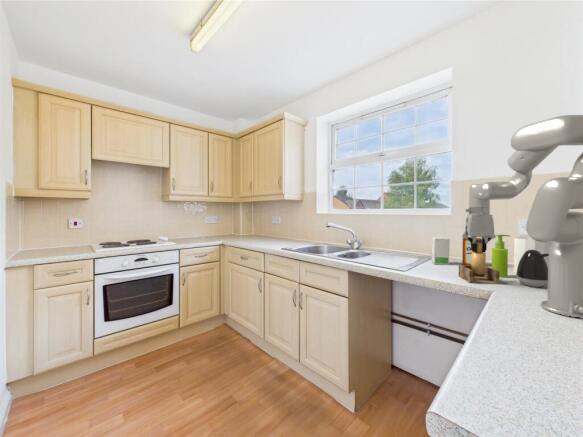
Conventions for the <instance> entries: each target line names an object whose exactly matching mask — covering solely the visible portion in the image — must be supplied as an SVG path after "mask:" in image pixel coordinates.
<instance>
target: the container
mask: <svg viewBox="0 0 583 437" xmlns="http://www.w3.org/2000/svg"><path fill="white" fill-rule="evenodd" d="M513 239H514V240H513V242H514V244H513V248H514V249H513V273H514V274H516V275H517V268H518V264H519V261H520V259H521V257H522V256H523V254H524V253H525V252H526V251H528V250H537V251H539V252H540V253H541V254H546V253H548V254H549V250H550V248H551V246H552V244H553V243H545V242H538V241H535V240H533V239H532V238H531V237H530V236H514V238H513ZM544 259H545V261H546V263H547V266H548V256H546V257H544Z"/></svg>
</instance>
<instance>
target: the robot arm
mask: <svg viewBox="0 0 583 437" xmlns="http://www.w3.org/2000/svg"><path fill="white" fill-rule="evenodd" d="M560 146H583V114H567V115H566V114H565V115H559V116H555V117H551V118H547V119H545V120H540V121H537V122H533V123H530V124H526V125H524V126H521V127H520V128H518V129H517V130H516V131H515V132H514V133H513V134H512V136H511V138H510V147H511V148H512V149H513V150H514V152H513V153H512V154H511V155H510V157H508V159H507V165H508V166H509V168H511V170H513V171H514V172H515V173H514V175H512V177H510V179H509V180H507V181H486V182H481V183H475V184H470V186H469V194H468V198H469V199H468V201H469V202H468V208H466V209H465V213H468V214H467V215H466V220H465V224H464V233H463V234H462V235H461V236H462V239H463V238H466V239H467V240H469V241H470V243H471V250H472V252H477V244H476V237H480V238H482V240H483V244H482V252H484V253H486V252H487V249H488V248H487V247H488V246H487V245H488V243H489V242H490V241H491V240H494V239H496V238H497V236H496V234H495V223H494V217H493V214H491V213H490V212H491V203H490V202H491V200H492V201H493V200H494V201H497V200H499V201H500V200H503V201H504V200H511V199H514V198H515V197H518V195H520V194H521V193H522V192H523V191H524V190H525V189H526V188H527V187H528V186H530V185H529V184H530V182H531V180H532V178H533V177H532V176H533V171H534V170H535V169H536V168H537V167H538V166H539V165H540V164H541V163H542V162H543V161H544V160H545V159H546V158H547V157H548V156H550V155H551V153H553V152H554V151H555V150H556V149H557V148H558V147H560ZM582 209H583V152H581V154H580V155H579V156H578V157H577V158H576V160H575V162H574V164H573V166H572V169H571V172H570V173H569V176H563V177H562V176H561V177H555V178H551V179H549V180H547V181H545V182H544V183H543V184H542V185H540V187H539V188H538V189H537V191H536V193H535V196H534V200H533V202H532V205H531V208H530V211H529V213H528V217H527V220H526V227H525V228H526V233H527V234H528V237H531V238H532V239H533V240H535V241H538V242H545V243H553V244H552V246H551V248H550V250H549V256H548V283H547V300H543V301H541V302H540V307H541V308H542V309H544V310H546V311H548V312H551V313H554V314H556V315H557V314H558V315H560V314H561V316H566V317H569V316H571V318H575V317H580V318H579V319H583V212H581V211H571V210H582Z"/></svg>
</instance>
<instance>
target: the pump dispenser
mask: <svg viewBox="0 0 583 437" xmlns="http://www.w3.org/2000/svg"><path fill="white" fill-rule="evenodd" d="M546 256H549V254H548V253H546V254H541V253H540V252H539V251H537V250H528V251H526V252H525V253H524V254H523V256H522V257H521V259H520V261H519V264H518V268H517V274H516V276H517V279H518V281H519V283H521V284H523V285H525V286H527V287H532V288H543V287H545V286H546V285H548V266H547V263H546V261H545V259H544V257H546Z"/></svg>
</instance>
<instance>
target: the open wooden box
mask: <svg viewBox="0 0 583 437" xmlns="http://www.w3.org/2000/svg"><path fill="white" fill-rule="evenodd" d="M458 277H459V278H461V279H462V280H464V281H466V282H467V283H469V284H483V285H485V284H486V285H487V284H488V285H500V277H499V271H497V270H495V269H492V267H489V266H487V265H485V274H476V273H473V271H472V270H471V265H463V264H459V265H458Z"/></svg>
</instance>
